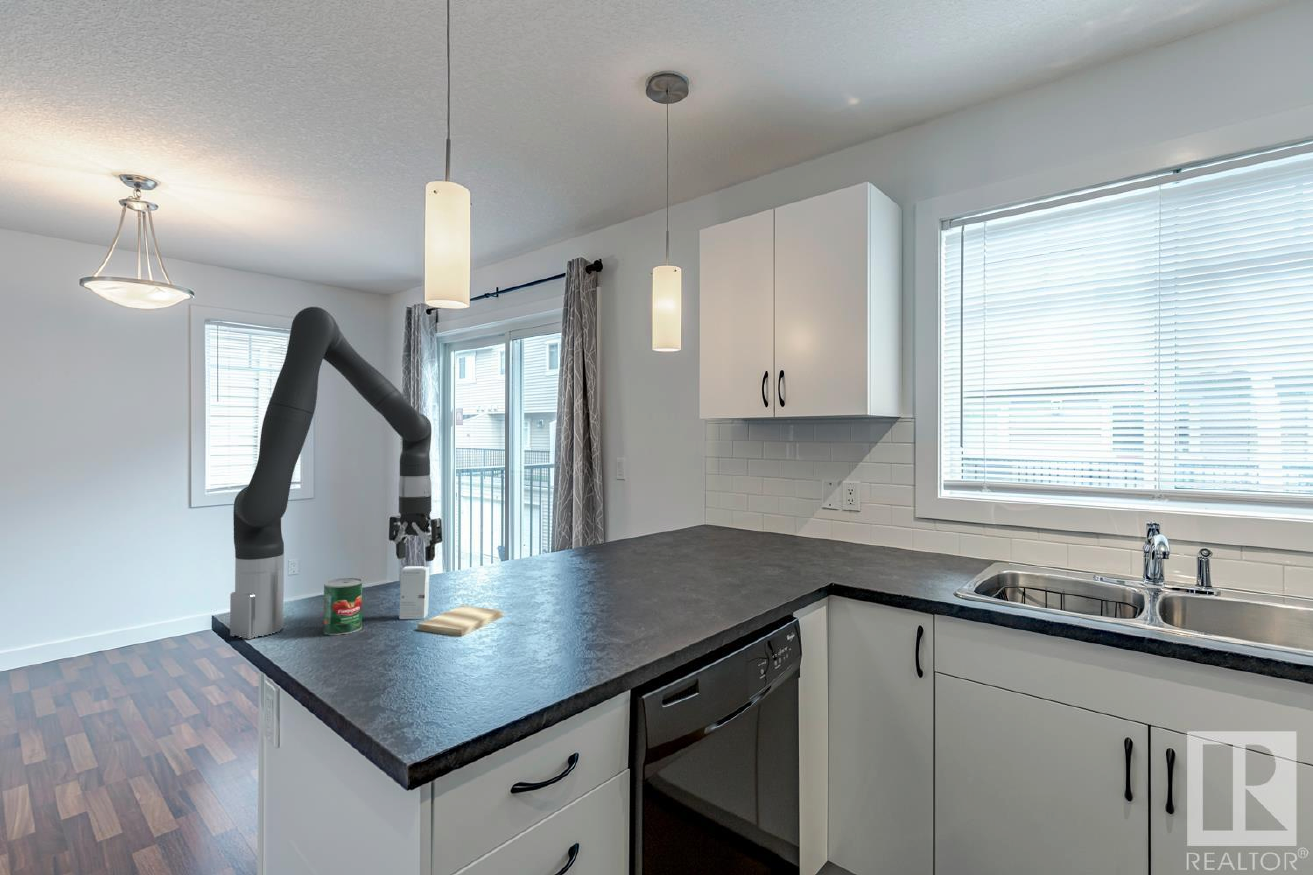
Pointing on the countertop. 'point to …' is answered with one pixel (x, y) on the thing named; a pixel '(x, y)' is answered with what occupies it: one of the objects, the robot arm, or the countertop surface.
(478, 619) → the birch board
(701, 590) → the countertop surface
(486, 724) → the countertop surface
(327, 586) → the canned tomato
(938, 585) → the countertop surface
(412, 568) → the skincare box
